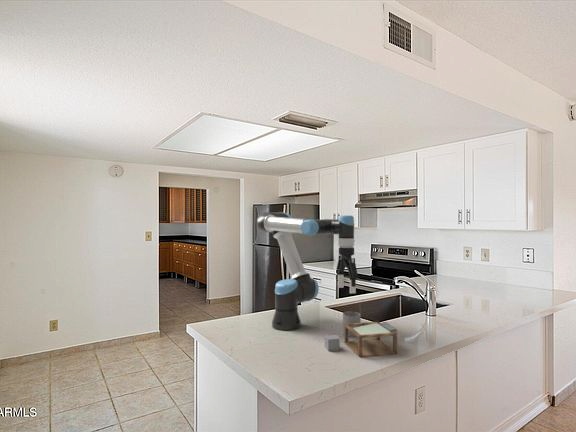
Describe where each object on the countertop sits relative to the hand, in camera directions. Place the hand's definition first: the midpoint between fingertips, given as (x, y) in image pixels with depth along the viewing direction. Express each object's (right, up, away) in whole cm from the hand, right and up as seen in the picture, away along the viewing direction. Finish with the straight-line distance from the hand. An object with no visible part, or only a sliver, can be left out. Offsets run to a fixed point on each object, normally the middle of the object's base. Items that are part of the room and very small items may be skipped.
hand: (346, 290), depth 172 cm
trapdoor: (+8, -14, -20) cm, 26 cm away
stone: (-10, -21, -21) cm, 31 cm away
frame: (+7, -21, -20) cm, 30 cm away
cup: (+2, -21, -3) cm, 21 cm away
